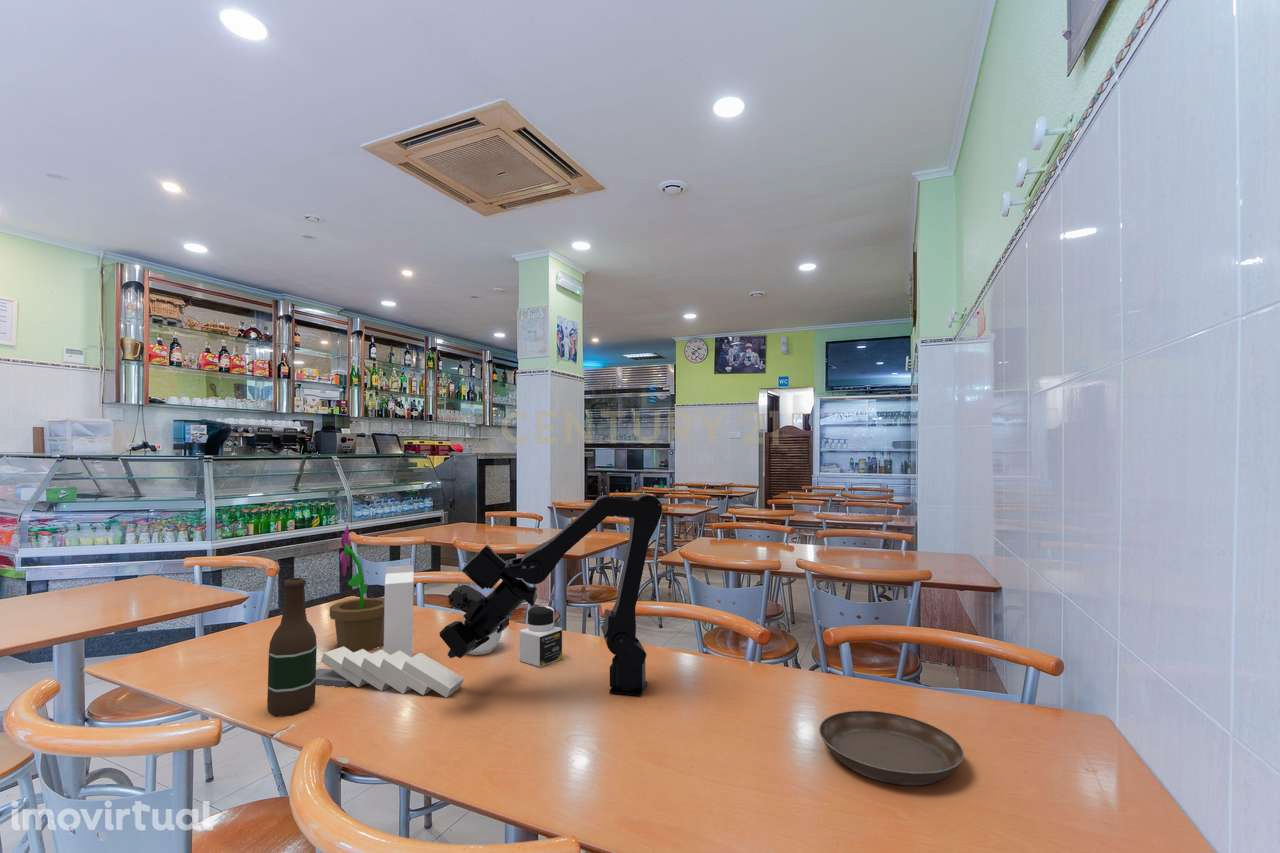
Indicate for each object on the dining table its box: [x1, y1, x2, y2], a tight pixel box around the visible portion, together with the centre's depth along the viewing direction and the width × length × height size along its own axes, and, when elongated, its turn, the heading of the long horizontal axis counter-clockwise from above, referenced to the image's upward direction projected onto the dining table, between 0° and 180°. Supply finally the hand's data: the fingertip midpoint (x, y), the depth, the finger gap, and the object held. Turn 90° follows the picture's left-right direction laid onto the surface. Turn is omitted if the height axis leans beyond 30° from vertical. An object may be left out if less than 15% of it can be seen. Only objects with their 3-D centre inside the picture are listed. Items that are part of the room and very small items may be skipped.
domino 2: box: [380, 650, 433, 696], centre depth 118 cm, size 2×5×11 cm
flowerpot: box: [329, 524, 385, 652], centre depth 146 cm, size 14×14×30 cm
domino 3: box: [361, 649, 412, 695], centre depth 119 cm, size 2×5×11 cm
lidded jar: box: [457, 615, 503, 656], centre depth 141 cm, size 11×11×9 cm
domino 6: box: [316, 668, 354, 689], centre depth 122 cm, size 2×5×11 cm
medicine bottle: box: [518, 605, 563, 668], centre depth 135 cm, size 7×7×12 cm
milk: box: [383, 565, 415, 658], centre depth 133 cm, size 6×6×22 cm
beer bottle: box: [266, 577, 318, 717], centre depth 110 cm, size 8×8×24 cm
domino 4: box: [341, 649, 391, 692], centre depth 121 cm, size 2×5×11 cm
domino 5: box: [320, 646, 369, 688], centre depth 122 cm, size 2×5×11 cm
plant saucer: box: [818, 710, 965, 786], centre depth 91 cm, size 21×21×3 cm
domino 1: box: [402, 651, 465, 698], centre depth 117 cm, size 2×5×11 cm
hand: (449, 656), depth 117 cm, fingers closed
